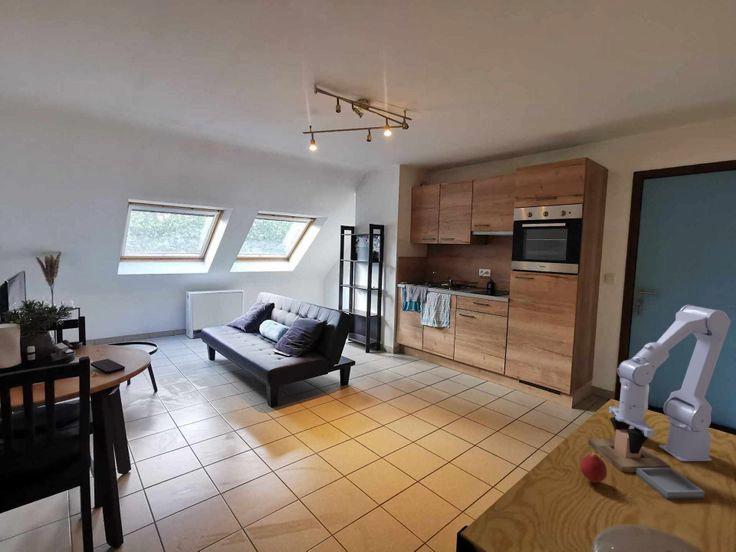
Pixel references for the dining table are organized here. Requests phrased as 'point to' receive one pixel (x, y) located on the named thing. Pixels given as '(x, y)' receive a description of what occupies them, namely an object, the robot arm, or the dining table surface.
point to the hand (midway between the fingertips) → (627, 447)
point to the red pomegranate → (593, 468)
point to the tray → (670, 483)
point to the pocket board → (626, 464)
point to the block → (624, 445)
